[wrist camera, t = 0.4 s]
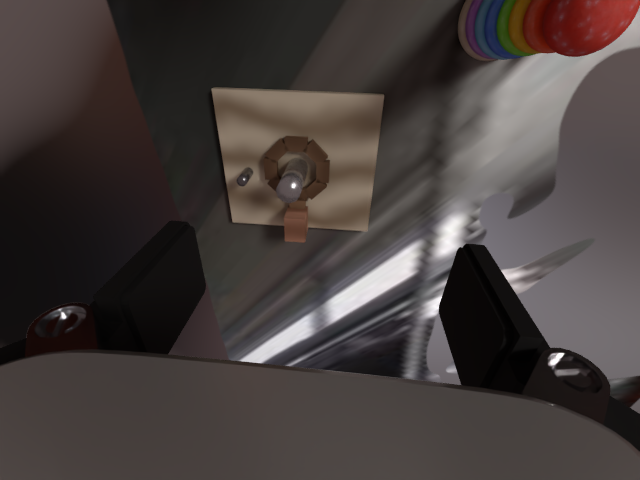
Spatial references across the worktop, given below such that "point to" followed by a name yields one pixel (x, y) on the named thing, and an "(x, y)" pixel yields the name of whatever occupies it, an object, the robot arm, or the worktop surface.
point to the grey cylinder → (284, 180)
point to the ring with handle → (298, 210)
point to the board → (300, 120)
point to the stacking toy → (541, 26)
